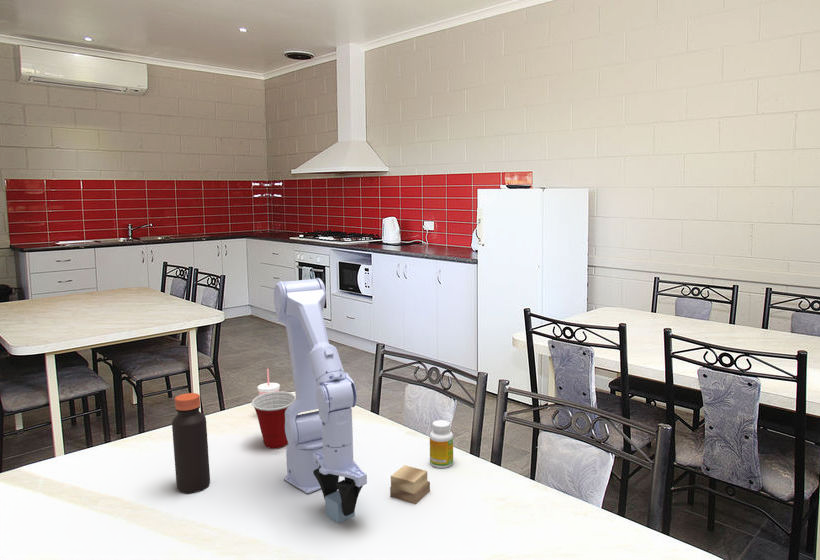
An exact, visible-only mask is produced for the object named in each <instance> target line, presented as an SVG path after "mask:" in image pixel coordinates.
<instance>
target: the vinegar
mask: <svg viewBox="0 0 820 560" xmlns="http://www.w3.org/2000/svg"><path fill="white" fill-rule="evenodd" d="M174 405H175V406H174V407H175V411H176V412H177V414H176V415H175V417H174V418H173V420H171V429H172V441H173V445H172V446H173V456H174V468H175V470H174V472H175V480H176V481H175V482H176V490H178V491H179V493H184V494H192V493H196V492H197V493H198V492H201V491H203V490H205V489H207V488H208V486H210V484H211V473H210V472H211V471H210V457H209V443H208V442H209V441H208V428H207V418H206V416H205V414H204V413H202V412H201V411H200V408H201V397H200V394H199V393H196V392H195V393H194V392H188V393H183V394H179V395H177V396H175V398H174Z"/></svg>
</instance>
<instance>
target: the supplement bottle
mask: <svg viewBox="0 0 820 560" xmlns="http://www.w3.org/2000/svg"><path fill="white" fill-rule="evenodd" d="M431 427H432V431H430V433H429V464H430V465H431V466H432V467H434V468H437V469H446V468H450V467H452V466H453V464H454V433H453V432H452V431H451V430H450V429H451V423H450V422H449V421H448V420H444V419H439V420H434V421H433V422H432V425H431Z"/></svg>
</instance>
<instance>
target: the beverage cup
mask: <svg viewBox="0 0 820 560" xmlns="http://www.w3.org/2000/svg"><path fill="white" fill-rule="evenodd" d="M266 377H267V382H265V383H261V384H259V385H257V387H256V388H257V391H258V396H259V395H262V394H265V393H269V392H277V391H280V387H281V384H280V383H278V382H270V369H269V368H266Z"/></svg>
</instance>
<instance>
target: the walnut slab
mask: <svg viewBox="0 0 820 560" xmlns="http://www.w3.org/2000/svg"><path fill="white" fill-rule="evenodd" d="M389 492H390V493H389V494H390V496H389V497H390V498H393V499H396V500H400V501H404V502H407V503H410V504H413V505H416V504H418V503H419V502H420V501H421V500H422V499H424V497H425V496H426V495H427V494H429V493H430V492H431V482H430V481H429V480H427V483H426V484H425V485H424V486H423V487H422V488H420V489H419V490H418V491H417V492H416V493H415V494H412V493H409V492H405V491H402V490H398V489H395V488H391V486H390V487H389Z"/></svg>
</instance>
